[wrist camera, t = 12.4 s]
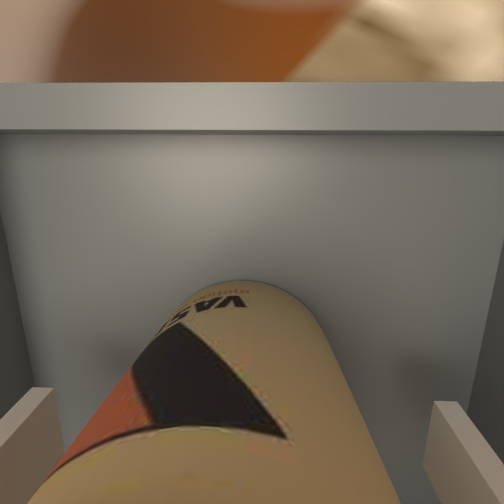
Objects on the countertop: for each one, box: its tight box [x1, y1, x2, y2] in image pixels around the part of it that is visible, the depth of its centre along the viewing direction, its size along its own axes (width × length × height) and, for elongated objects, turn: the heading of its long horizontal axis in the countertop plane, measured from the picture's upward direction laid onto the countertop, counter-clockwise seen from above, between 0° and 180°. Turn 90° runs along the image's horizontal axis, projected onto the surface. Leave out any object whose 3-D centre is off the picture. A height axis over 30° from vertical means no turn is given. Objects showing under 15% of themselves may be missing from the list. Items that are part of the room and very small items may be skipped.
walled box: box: [0, 82, 504, 504], centre depth 15 cm, size 22×23×5 cm
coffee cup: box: [27, 280, 401, 504], centre depth 11 cm, size 9×9×12 cm
